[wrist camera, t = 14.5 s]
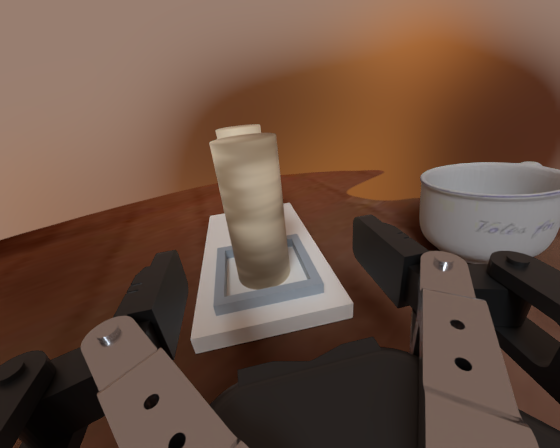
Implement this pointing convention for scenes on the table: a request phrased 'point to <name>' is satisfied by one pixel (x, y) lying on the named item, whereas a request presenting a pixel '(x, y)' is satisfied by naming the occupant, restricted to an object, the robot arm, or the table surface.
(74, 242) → the table surface
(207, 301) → the board
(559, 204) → the teacup
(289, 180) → the table surface
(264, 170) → the maple post
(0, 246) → the table surface
